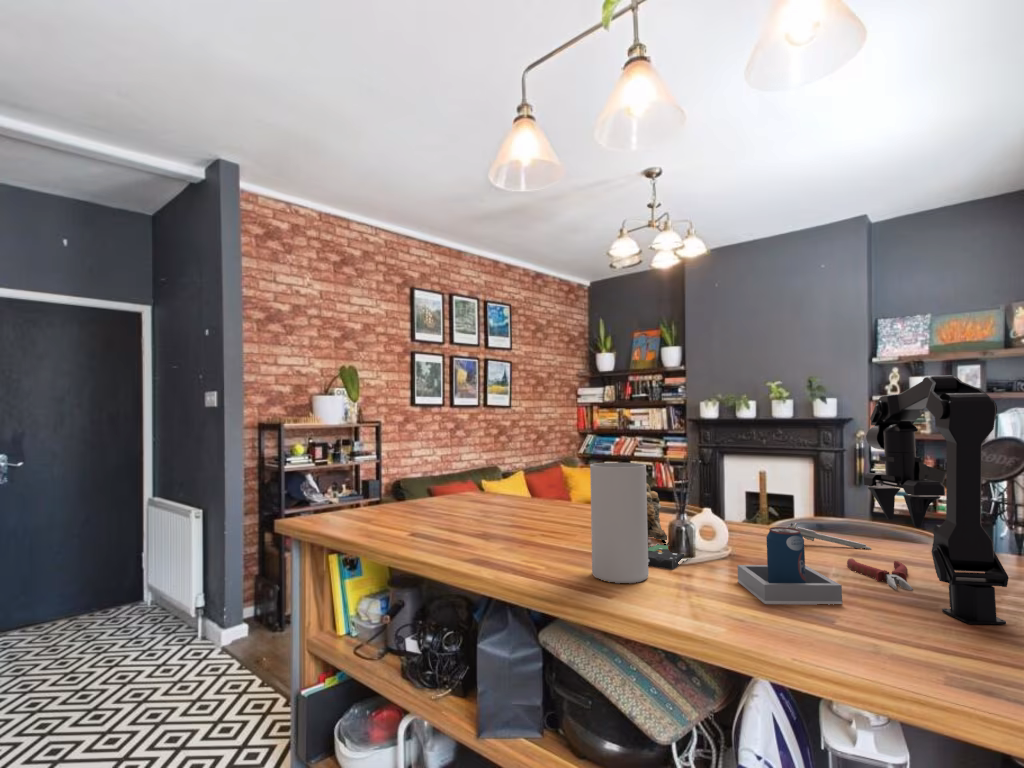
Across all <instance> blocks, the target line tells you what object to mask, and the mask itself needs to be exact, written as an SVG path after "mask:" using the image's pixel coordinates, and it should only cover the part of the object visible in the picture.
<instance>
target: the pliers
mask: <svg viewBox="0 0 1024 768" xmlns="http://www.w3.org/2000/svg"><path fill="white" fill-rule="evenodd" d="M846 566H847V567H848V568H849V569H850V570H851V571H852V570H853V572H855V571H856V572H855V573H857V572H858V574H860V573H862V574H861V575H863V574H864V575H863V576H866V575H867V576H866V577H869V576H870V578H872V577H874V578H873V579H875V581H876V580H877V581H876V582H884V581H887V582H886V584H887V585H888V586H890V587H892V588H893V589H895V590H896V591H897V590H898V588H897V584H899V585H898V586H899V587H900V586H901V587H900V588H902V587H903V588H902V589H905V590H909V591H914V588H913V587H912V586H911V585H910V583H908V579H907V577H908V576H906V575H908V573H909V571H908V570H909V569H908V567H907V566H906V565H905V564H903V563H902V562H900V561H898V560H894V561H893V569H894V568H895V569H894V570H892V571H891V573H890V571H887V570H885V569H884V570H883V569H880V568H877V567H873V566H871V565H868V564H863V563H861V562H858V561H856V560H855V559H854V558H848V559H847V561H846ZM882 580H883V581H882Z"/></svg>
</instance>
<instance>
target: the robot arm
mask: <svg viewBox="0 0 1024 768" xmlns="http://www.w3.org/2000/svg"><path fill="white" fill-rule="evenodd" d="M924 409H927V410H928V411H929V412H930V414H932V416H933V417H934V421H935V422H934V423H935V427H936V429H937V430H938V432H939V433H940V434H941V435H942V437H943V438H944V439H945V441H946V471H944V470H941V469H938V468H935V467H932V466H930V465H929V466H928V465H927V463H923V459H922V457H920V456H917V453H916V451H917V448H916V432H918V431H919V430H918V427H917V426H916V425H915V424H914V423H915V422H916V420H917V419H918V418H920V417H921V416H922V415H923V413H922V410H924ZM997 413H998V405H997V402H996V401H995V400H994V399H993V398H992V397H991V396H989V395H988V394H987V392H985V391H984V390H983V389H981V388H978V387H976V386H973V385H971V384H968V383H966V382H963V381H962V380H961V379H960V378H959V377H957V376H954V375H951V374H949V375H948V374H947V375H946V374H945V375H943V374H941V375H929V376H926V377H924V378H923V379H922V381H920V382H919V383H918V382H917V383H916V384H915V385H913V386H911V387H909V388H908V389H906V390H905V391H903V392H901V393H895V394H894V393H892V394H885V395H882V396H880V397H879V398H878V400H877V401H876V402H875V406H874V408H873V410H872V413H871V415H870V419H869V420H870V426H872V427H870V428H869V429H868V430H867V432H866V436H865V439H866V442H867V444H868V445H869V446H870V447H871V448H873V449H877V450H881V451H882V450H883V451H884V455H880V456H879V459H880V461H883V462H884V466H885V467H884V468H885V469H884V471H885V472H878V473H877V472H876V473H875V472H874V473H873V472H869V473H866V474H865V475H864V476H863V485H864V486H866V487H867V490H869V491H870V492H871V494H872V495H873V497H874V499H875V500H876V502H877V503H878V505H879V507H880V509H881V510H882V512H883V514H884V515H885V517H886V519H887V520H890V521H891V520H893V519H894V517H895V516H894V515H895V501H896V495H897V494H898V493H899V492H900V491H901V489H903V491H904V493H905V494H903V498H904V499H903V500H904V502H905V505H906V507H907V509H908V514H909V517H910V519H911V522H912V524H913V527H914V528H916V529H917V528H919V529H920V528H922V525H923V522H924V520H925V518H926V517H925V516H926V514H927V511H928V509H929V507H930V504H931V503H934V501H936V500H939V499H940V498H941V497H942V496H946V499H945V503H946V506H945V507H946V508H945V509H946V510H945V512H946V513H945V516H946V517H945V520H944V521H943V522H942V523H941V524H935V525H934V527H933V529H932V532H933V541H932V547H931V551H930V552H931V556H932V560H933V564H934V565H933V566H934V570H935V573H936V576H937V578H938V581H939V582H942V583H947V584H948V596H949V599H948V600H949V607H950V608H945V607H944V608H943V607H942V608H941V611H942V612H943V613H944V614H947V615H949V616H951V617H953V618H955V619H957V620H960V621H961V622H963V623H966V624H969V625H1007V621H1006V620H1004V619H1002V618H999V617H997V606H996V605H997V601H996V590H995V589H996V588H995V587H1002V588H1007V587H1008V583H1009V575H1008V574H1007V572H1006V571H1007V570H1005V568H1004V566H1003V564H1002V563H1001V561H1000V559H999V557H998V556H997V554H996V552H995V549H994V542H993V540H992V538H991V537H990V536H989V534H988V533H987V531H986V530H985V529H984V527H983V526H982V462H983V461H982V459H983V458H982V454H983V453H982V451H983V450H982V447H983V444H984V442H985V440H987V438H988V437H989V436H990V434H991V433H992V432H993V431H994V429H995V421H996V416H997ZM945 479H946V483H945V484H946V487H945V485H944V482H945Z"/></svg>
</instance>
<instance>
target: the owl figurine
mask: <svg viewBox="0 0 1024 768" xmlns="http://www.w3.org/2000/svg"><path fill="white" fill-rule="evenodd" d="M646 486H647V529H648V537H654V538H656V539H661V540H664V541H665V540H667V536H668V535H667V533H666V531H665V530H664V529H662V525H661V523H660V522H661V519H660V518H661V517H660V511H661V503H660V498H659V494H658V492H656V491H654V490H651V486H650V485H649V483H647V482H646Z"/></svg>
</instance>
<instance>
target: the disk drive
mask: <svg viewBox="0 0 1024 768" xmlns="http://www.w3.org/2000/svg"><path fill="white" fill-rule="evenodd" d="M668 546H669V545H668V544H667V545H659V544H657V545H656V546H653V547H651V546H650V547H648V565H649V566H648V567H652V566H653V567H654V568H660V569H665V570H666V569H667V570H671V571H672V570H675V569H677V568H678V567H679V566H680V565H679V564H678V562H679V561H680V560H681V559H682V558H683V557H684V554H678V553H672V552H670V551H669V549H668ZM678 565H679V566H678ZM653 567H652V568H653Z"/></svg>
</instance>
